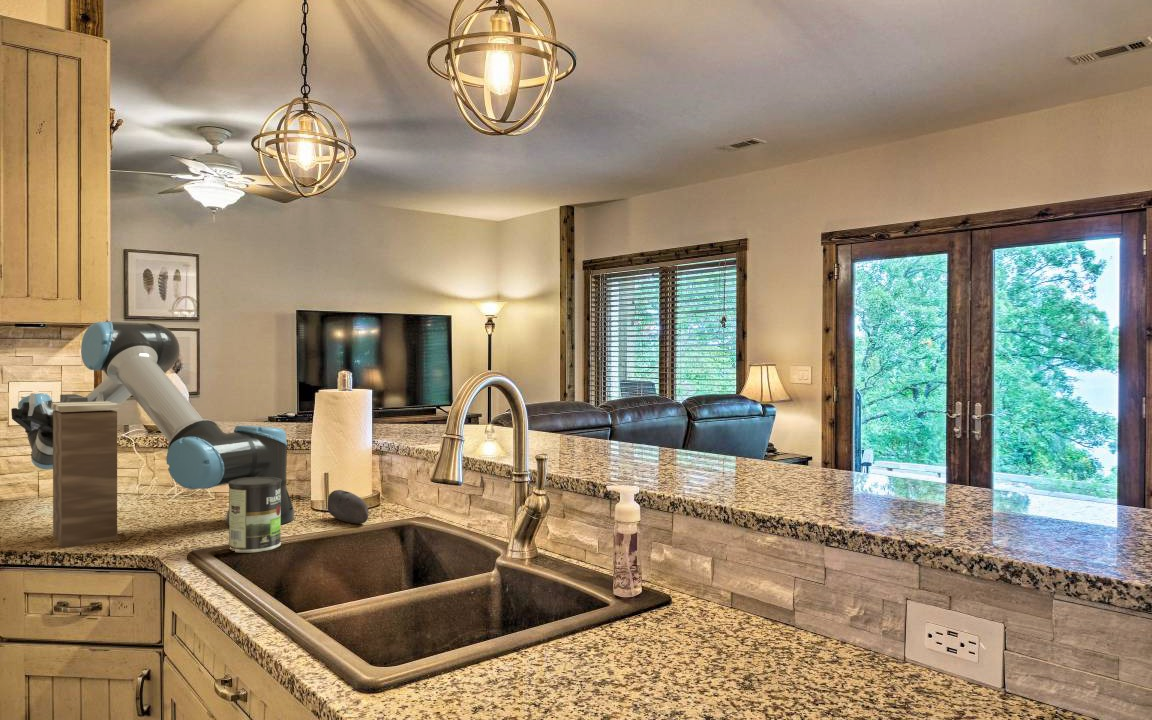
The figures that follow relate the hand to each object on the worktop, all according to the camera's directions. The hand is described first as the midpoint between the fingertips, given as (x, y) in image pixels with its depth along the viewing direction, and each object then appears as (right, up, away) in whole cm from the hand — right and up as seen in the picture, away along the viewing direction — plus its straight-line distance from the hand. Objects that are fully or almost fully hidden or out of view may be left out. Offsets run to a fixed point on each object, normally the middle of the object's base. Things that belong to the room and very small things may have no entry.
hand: (68, 397), depth 179 cm
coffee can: (+52, -31, -19) cm, 64 cm away
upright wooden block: (+13, -30, -14) cm, 36 cm away
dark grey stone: (+65, -31, +5) cm, 72 cm away
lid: (+8, -2, -8) cm, 12 cm away
